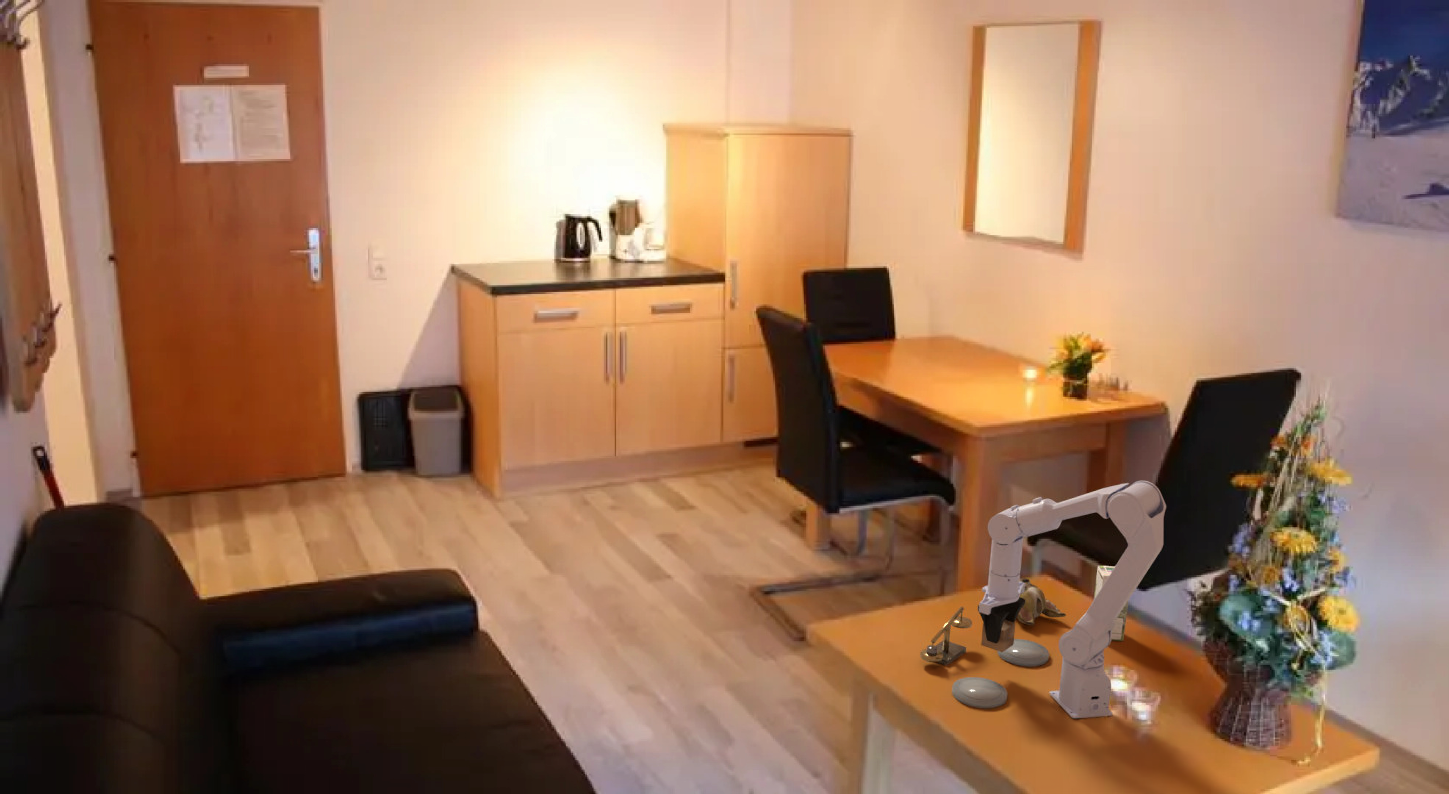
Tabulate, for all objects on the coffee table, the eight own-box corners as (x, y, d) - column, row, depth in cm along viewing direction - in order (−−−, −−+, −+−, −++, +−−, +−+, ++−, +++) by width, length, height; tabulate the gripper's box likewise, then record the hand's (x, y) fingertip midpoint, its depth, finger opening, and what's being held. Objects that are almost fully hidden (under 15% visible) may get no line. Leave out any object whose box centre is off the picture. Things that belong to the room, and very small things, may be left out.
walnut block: (992, 637, 232) (994, 616, 231) (1013, 644, 229) (1015, 623, 228) (981, 645, 229) (982, 623, 227) (1002, 652, 226) (1004, 630, 225)
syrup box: (1117, 629, 251) (1125, 565, 247) (1123, 642, 245) (1132, 576, 242) (1090, 628, 251) (1097, 563, 248) (1095, 640, 246) (1103, 574, 242)
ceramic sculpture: (1022, 561, 263) (1072, 590, 251) (1017, 597, 266) (1066, 626, 253) (985, 570, 258) (1034, 600, 246) (980, 606, 260) (1029, 637, 248)
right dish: (1057, 664, 234) (1057, 659, 234) (1010, 668, 232) (1010, 662, 232) (1034, 642, 244) (1035, 637, 244) (989, 645, 242) (989, 640, 242)
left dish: (1015, 706, 218) (1016, 700, 217) (964, 710, 216) (965, 704, 215) (993, 680, 227) (993, 675, 227) (944, 683, 225) (944, 678, 225)
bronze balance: (953, 637, 245) (956, 599, 243) (975, 645, 242) (978, 606, 240) (914, 664, 233) (917, 625, 230) (936, 672, 230) (940, 632, 227)
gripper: (1003, 555, 233) (998, 619, 236) (966, 576, 222) (961, 642, 225) (1037, 564, 228) (1030, 630, 232) (1001, 586, 218) (994, 654, 221)
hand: (998, 637), depth 228 cm, fingers closed on walnut block, 4 cm apart
